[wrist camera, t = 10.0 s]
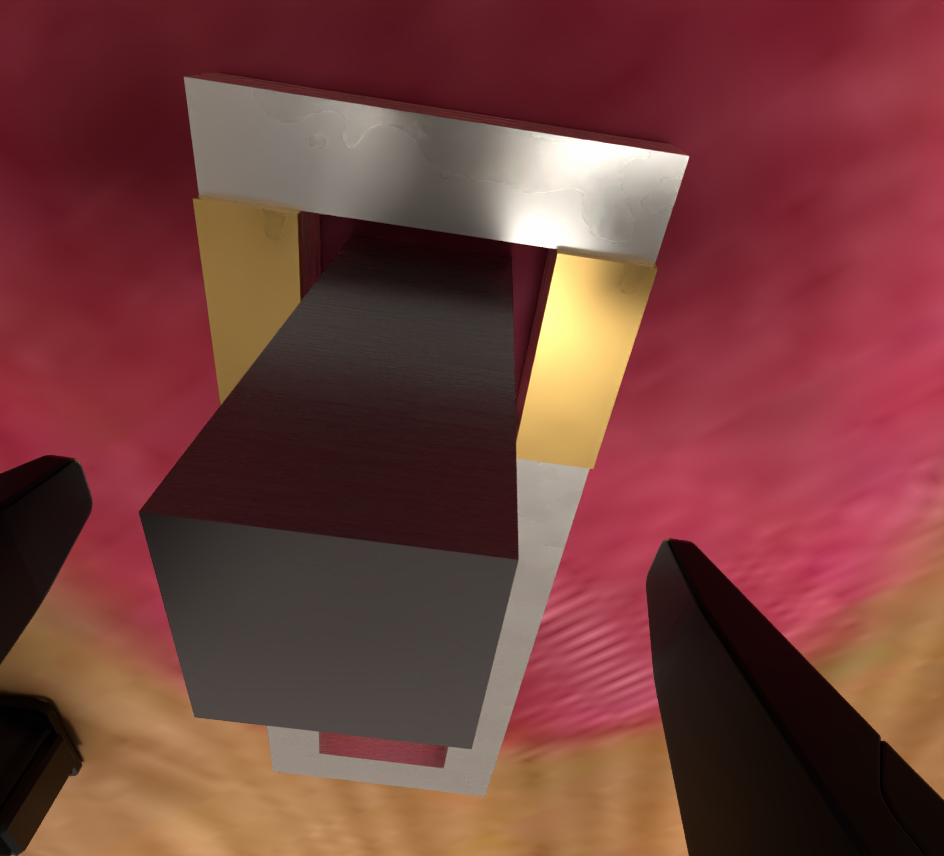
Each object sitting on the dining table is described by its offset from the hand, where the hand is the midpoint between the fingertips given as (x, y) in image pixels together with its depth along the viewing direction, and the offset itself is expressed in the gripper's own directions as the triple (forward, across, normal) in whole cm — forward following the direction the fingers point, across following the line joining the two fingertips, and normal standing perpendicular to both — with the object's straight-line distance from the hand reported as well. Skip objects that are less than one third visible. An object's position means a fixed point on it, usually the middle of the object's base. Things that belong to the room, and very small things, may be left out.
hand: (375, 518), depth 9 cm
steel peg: (+8, 0, 0) cm, 8 cm away
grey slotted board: (+8, 0, +9) cm, 12 cm away
